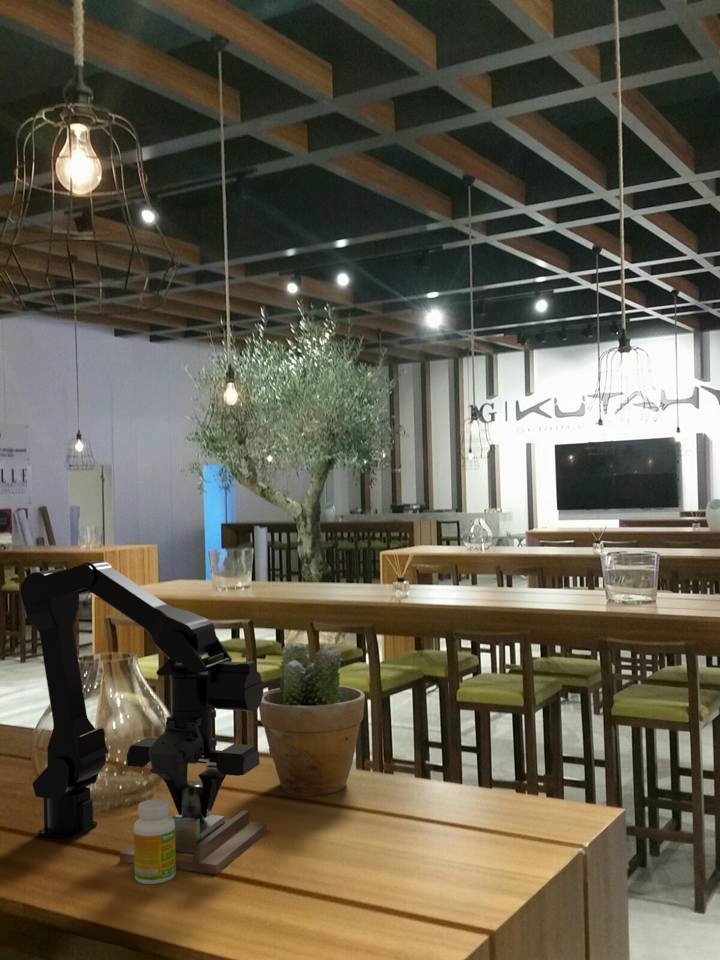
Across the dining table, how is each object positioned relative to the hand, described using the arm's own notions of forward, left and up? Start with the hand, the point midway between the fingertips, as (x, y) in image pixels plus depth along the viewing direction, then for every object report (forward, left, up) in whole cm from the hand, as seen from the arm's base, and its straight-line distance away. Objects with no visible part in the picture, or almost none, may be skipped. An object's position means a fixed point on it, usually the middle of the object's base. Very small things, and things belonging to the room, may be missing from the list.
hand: (194, 815), depth 136 cm
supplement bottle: (0, -11, -5) cm, 12 cm away
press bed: (0, 0, -4) cm, 5 cm away
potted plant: (+6, +30, -5) cm, 31 cm away
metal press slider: (0, -2, -3) cm, 3 cm away
